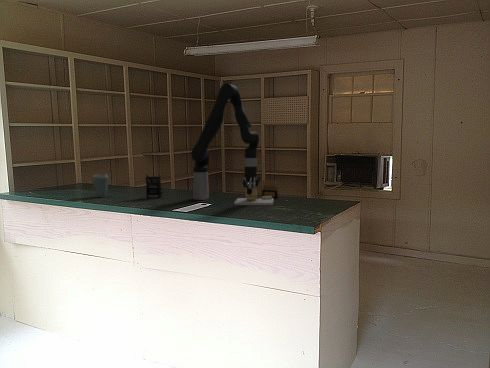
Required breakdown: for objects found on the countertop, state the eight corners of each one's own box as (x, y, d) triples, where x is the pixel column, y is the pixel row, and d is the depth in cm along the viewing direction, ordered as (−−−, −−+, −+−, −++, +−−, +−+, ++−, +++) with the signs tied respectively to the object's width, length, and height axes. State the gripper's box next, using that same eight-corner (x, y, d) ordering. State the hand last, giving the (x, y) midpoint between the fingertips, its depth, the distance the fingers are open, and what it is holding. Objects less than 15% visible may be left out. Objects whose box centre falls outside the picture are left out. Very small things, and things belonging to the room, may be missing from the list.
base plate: (234, 205, 253) (234, 199, 253) (237, 200, 268) (237, 195, 268) (272, 205, 251) (272, 199, 250) (273, 200, 265) (273, 195, 265)
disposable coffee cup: (106, 198, 284) (105, 175, 282) (90, 198, 284) (88, 175, 282) (111, 195, 295) (110, 173, 293) (96, 195, 295) (94, 173, 293)
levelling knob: (243, 199, 260) (243, 188, 259) (249, 198, 265) (248, 187, 264) (256, 201, 255) (255, 189, 254) (261, 199, 260) (261, 187, 259)
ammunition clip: (261, 197, 278) (261, 178, 277) (262, 197, 280) (262, 178, 278) (277, 198, 273) (277, 179, 272) (278, 198, 275) (278, 179, 273)
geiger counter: (163, 197, 286) (162, 174, 284) (161, 198, 281) (160, 175, 279) (148, 196, 287) (147, 174, 285) (145, 198, 282) (144, 175, 280)
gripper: (255, 164, 265) (255, 192, 267) (237, 165, 256) (237, 194, 259) (263, 165, 259) (263, 193, 261) (245, 166, 250) (245, 196, 253)
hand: (250, 194), depth 260 cm, fingers closed on levelling knob, 2 cm apart
